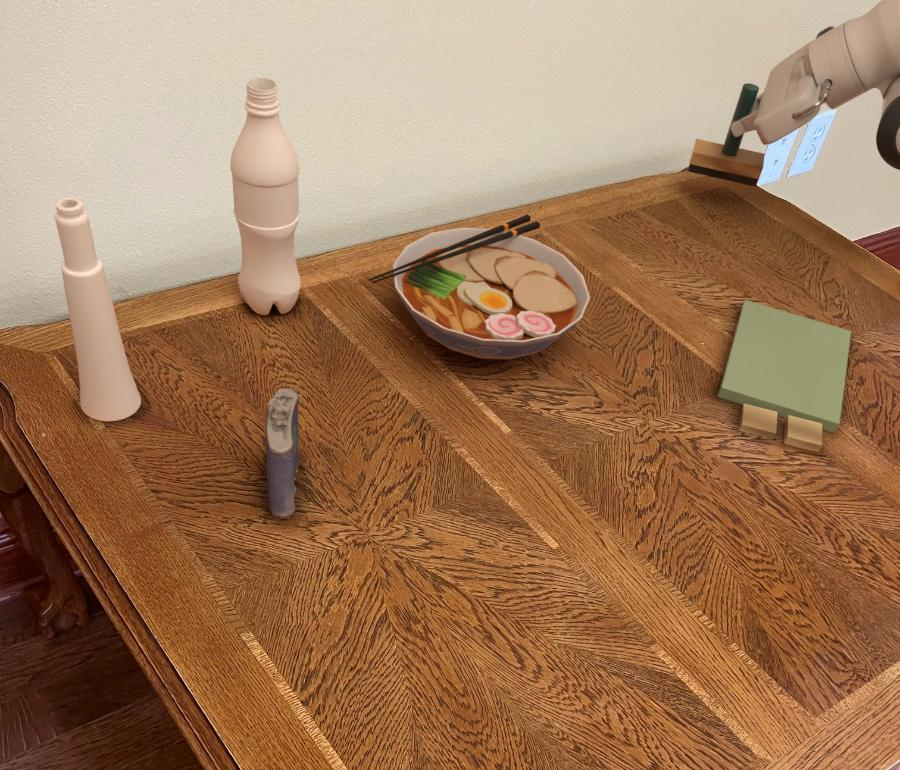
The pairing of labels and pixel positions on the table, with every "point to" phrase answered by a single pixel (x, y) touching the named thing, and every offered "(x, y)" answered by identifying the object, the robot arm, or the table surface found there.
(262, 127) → the water bottle
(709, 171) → the brush
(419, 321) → the ramen bowl
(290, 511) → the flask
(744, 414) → the cracker
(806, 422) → the cracker
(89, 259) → the cosmetic bottle
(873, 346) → the table surface
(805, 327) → the green rectangular board
